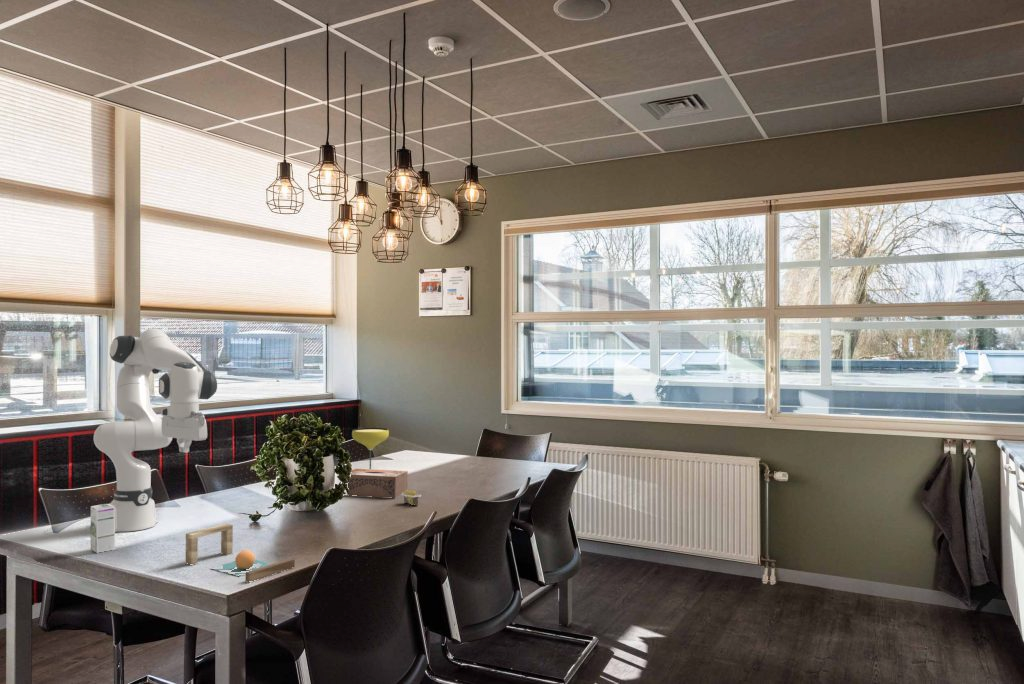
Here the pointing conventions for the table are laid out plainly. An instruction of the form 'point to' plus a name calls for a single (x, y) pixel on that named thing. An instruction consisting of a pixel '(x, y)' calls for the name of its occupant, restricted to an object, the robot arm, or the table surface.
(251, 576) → the stopper wall
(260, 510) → the table surface
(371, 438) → the cocktail glass
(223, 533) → the bridge
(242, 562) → the ball
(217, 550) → the table surface
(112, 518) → the syrup box
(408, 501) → the plastic food container
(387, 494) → the tissue box cover
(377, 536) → the table surface
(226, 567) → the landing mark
